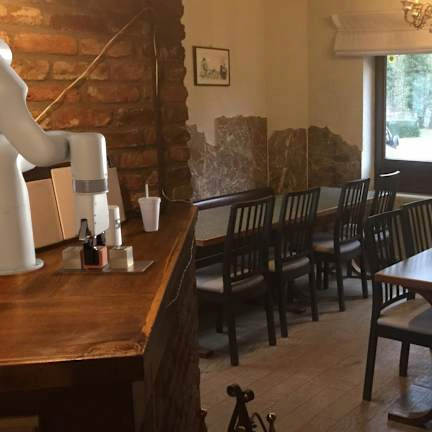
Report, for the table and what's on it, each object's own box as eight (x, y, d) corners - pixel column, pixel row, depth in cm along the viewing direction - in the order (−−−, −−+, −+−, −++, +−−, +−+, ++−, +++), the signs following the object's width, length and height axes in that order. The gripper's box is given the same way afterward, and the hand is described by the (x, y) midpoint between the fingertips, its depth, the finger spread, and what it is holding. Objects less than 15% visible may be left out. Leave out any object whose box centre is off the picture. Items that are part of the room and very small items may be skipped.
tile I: (63, 269, 147) (61, 250, 146) (70, 264, 151) (69, 246, 150) (81, 268, 147) (79, 250, 146) (87, 264, 151) (86, 246, 150)
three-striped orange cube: (83, 267, 147) (82, 249, 146) (90, 263, 151) (89, 245, 150) (101, 268, 148) (100, 249, 147) (107, 263, 151) (106, 245, 151)
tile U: (110, 268, 148) (109, 250, 147) (116, 263, 152) (115, 245, 151) (127, 268, 148) (126, 250, 147) (133, 263, 152) (132, 245, 151)
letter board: (55, 274, 145) (55, 272, 145) (72, 263, 153) (71, 261, 153) (142, 273, 146) (142, 271, 146) (153, 263, 155) (153, 260, 155)
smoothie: (140, 228, 192) (137, 183, 189) (162, 227, 194) (160, 182, 191) (139, 233, 186) (136, 186, 183) (162, 231, 188) (159, 185, 185)
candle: (113, 248, 168) (109, 193, 165) (91, 247, 169) (86, 192, 166) (126, 242, 174) (122, 189, 171) (105, 241, 175) (100, 188, 172)
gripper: (88, 180, 153) (93, 253, 157) (57, 192, 137) (64, 272, 141) (119, 181, 154) (123, 253, 158) (93, 192, 138) (98, 272, 141)
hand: (95, 261), depth 149 cm, fingers closed on three-striped orange cube, 4 cm apart
